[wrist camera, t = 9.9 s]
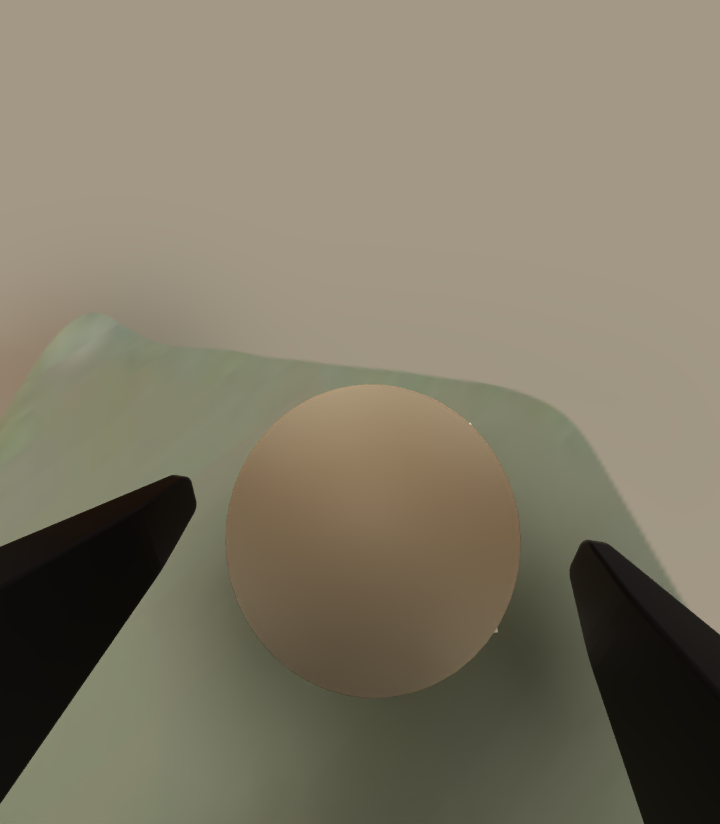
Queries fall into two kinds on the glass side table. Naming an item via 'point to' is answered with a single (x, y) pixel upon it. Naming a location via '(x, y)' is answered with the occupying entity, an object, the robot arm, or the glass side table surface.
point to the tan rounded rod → (373, 541)
